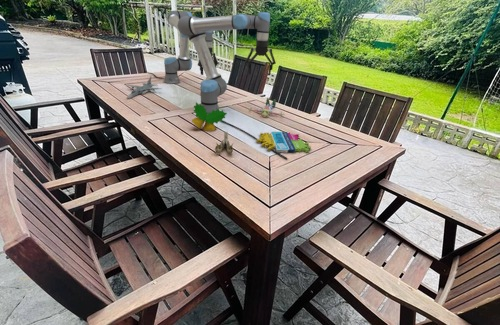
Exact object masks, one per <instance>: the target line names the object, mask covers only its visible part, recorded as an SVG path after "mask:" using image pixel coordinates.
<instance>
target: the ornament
mask: <svg viewBox="0 0 500 325" xmlns="http://www.w3.org/2000/svg"><path fill="white" fill-rule="evenodd" d="M219 110H220V108H219V109H217V110H216V111H214V110H212V112H211V113H208V112H206V109H204V106H201V103H198V102H195V105H194V106H193V112H194V113H195V118H192V119H191V122H192V123H193V125H195V127H197V128H198V129H202V130H203V131H206V132H212V131H213V132H214V131H215V130H216V126H215V124H218V123H219V122H222V121H223V119H226V115H227V114H228V113H227V112H224V110H223V109H221V110H220V111H219ZM207 113H208V115H207ZM214 123H215V124H214ZM222 123H223V122H222Z"/></svg>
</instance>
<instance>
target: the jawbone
mask: <svg viewBox="0 0 500 325" xmlns="http://www.w3.org/2000/svg"><path fill="white" fill-rule="evenodd" d="M223 135H224V136H223V140H222V139H221V142H220V144H218V142H215V144H216V146H215V148H214V149H215V152H214V154H215V155H217V156H218V155H220V153H221V152H223V151H224V150H226V152H227V153H228V155H229V156H233V155H234V154H233V153H234V148H233V144H234V143H230V140H228V139H229V138H228V137H229V136H228V135H229V133H228V131H226V132H224V134H223Z"/></svg>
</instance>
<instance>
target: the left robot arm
mask: <svg viewBox="0 0 500 325" xmlns="http://www.w3.org/2000/svg"><path fill="white" fill-rule="evenodd" d="M184 16H193V14H192V12H191V11H187V10H171V11H170V12H169V13H167V16H166V20H167V23H168V24H169V25H170V26H171V27H174V28H175V29H176V30H177V31H179V29H178V21H179V19H180V18H181V17H184ZM213 32H214V31H206V32H205V34H206V36H205V41H206V43H207V46H208V48H209V51H210V54H211V56H212V59H213V62H214V64H215V67H216V68H217V66H218V65H219V62H218V59H217V56H216V53H215V52H213V49H214V48H213V45H214V44H213V34H214V33H213ZM189 55H190V40H189V37H188V36H184V35H183V34H181V33H180V32H179V55H178V56H177V57H175V56H169V57H166V58H164V61H163V62H164V73H165V75H164V77H158V76H156V74H154V73H152V72H150V71H149V72H148V71H147V70H144V71H143V73H147V74H151V75H153V76H154V77H155V78H157V79H161V80H163V83H165V84H169V85H170V84H172V85H173V84H174V85H175V84H180V82H181V80H180V78H179V74H178V72H189V71H190V70H192V68H193V60H192V59H191V57H190V56H189ZM198 59H199V58H198ZM197 67H199V71H200V75H201V76H204V69H203V66H202V64H201V61H200V59H199V60H198V63H197Z"/></svg>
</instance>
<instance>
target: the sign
mask: <svg viewBox="0 0 500 325" xmlns="http://www.w3.org/2000/svg"><path fill="white" fill-rule="evenodd" d="M299 136H300V135H299V134H298V133H296V134H294V133H291V132H287V131H270V132H264V133H263V132H260V133H259V139H258V138H257V140H256V143H257V144H261V148H263V147H264V148H265V149H267V151H268V152H271V151H272V150H271V149H273V150H274V149H275V151H276V152H278V153H279V154H281V153H283V154H285V153H287V154H288V153H290V154H293V153H296V152H298V153H301V152H305V153H310V151H311V150H312V149H311V148H312V146H309V142H304V141H303V139H302V138H299ZM261 142H263V143H261ZM268 146H269V147H268Z"/></svg>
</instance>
